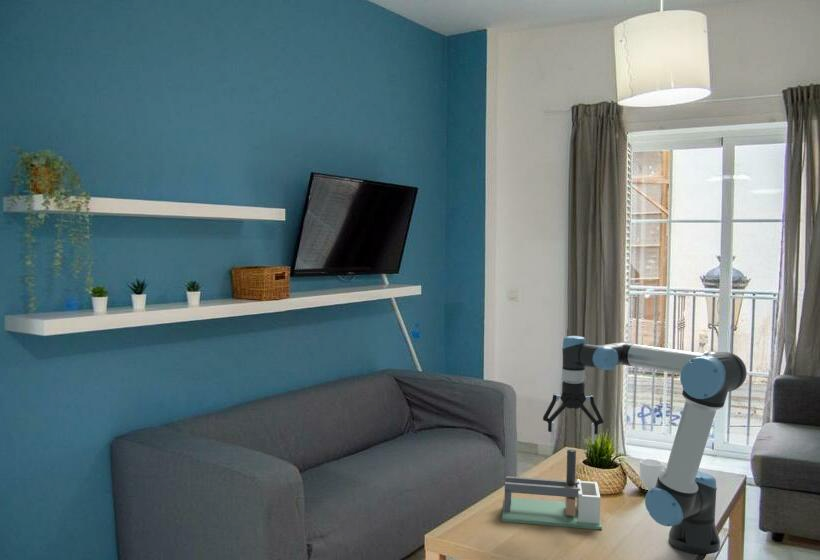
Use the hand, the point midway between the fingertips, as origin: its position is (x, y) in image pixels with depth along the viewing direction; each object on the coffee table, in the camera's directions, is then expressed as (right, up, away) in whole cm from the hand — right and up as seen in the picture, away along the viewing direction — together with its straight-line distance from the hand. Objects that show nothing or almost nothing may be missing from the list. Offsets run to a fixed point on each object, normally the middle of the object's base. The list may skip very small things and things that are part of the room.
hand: (572, 442), depth 245 cm
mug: (+39, -25, +30) cm, 55 cm away
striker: (0, -24, +2) cm, 24 cm away
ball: (+4, -23, +1) cm, 23 cm away
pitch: (-7, -26, +3) cm, 27 cm away
